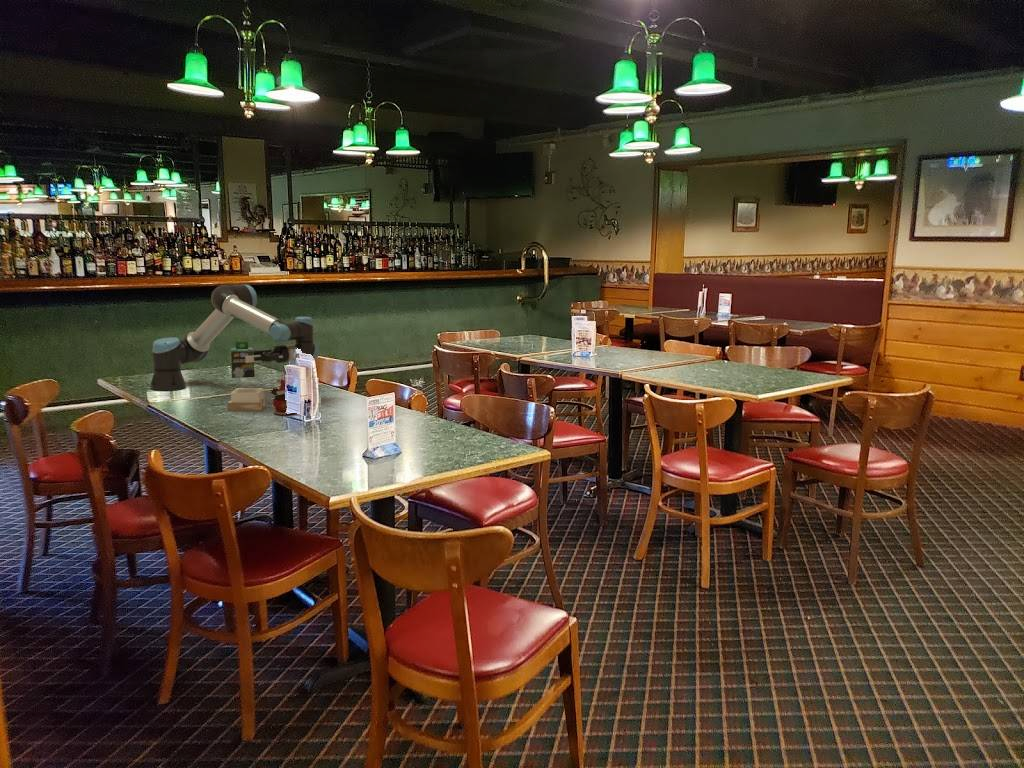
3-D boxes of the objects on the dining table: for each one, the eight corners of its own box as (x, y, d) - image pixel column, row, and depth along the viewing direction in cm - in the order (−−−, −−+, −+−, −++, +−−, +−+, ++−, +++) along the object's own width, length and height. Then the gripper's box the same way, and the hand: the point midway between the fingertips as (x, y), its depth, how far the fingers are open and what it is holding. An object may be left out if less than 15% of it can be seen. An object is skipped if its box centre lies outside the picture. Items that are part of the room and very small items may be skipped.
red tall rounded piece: (298, 410, 311) (297, 368, 308) (299, 415, 303) (299, 372, 300) (271, 411, 308) (270, 368, 305) (272, 416, 299) (271, 372, 296)
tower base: (234, 406, 318) (234, 396, 318) (265, 406, 320) (265, 397, 320) (227, 412, 306) (227, 402, 305) (260, 412, 308) (259, 403, 307)
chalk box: (254, 374, 316) (253, 339, 313) (255, 377, 307) (254, 342, 305) (231, 374, 312) (230, 339, 310) (231, 378, 304) (230, 342, 302)
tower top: (236, 397, 317) (236, 388, 316) (263, 397, 319) (263, 388, 318) (231, 402, 306) (230, 393, 306) (258, 402, 308) (258, 393, 307)
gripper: (300, 365, 316) (253, 370, 300) (270, 359, 332) (224, 363, 316) (300, 348, 315) (252, 351, 299) (270, 342, 330) (224, 345, 314)
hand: (238, 357), depth 307 cm, fingers closed on chalk box, 12 cm apart
